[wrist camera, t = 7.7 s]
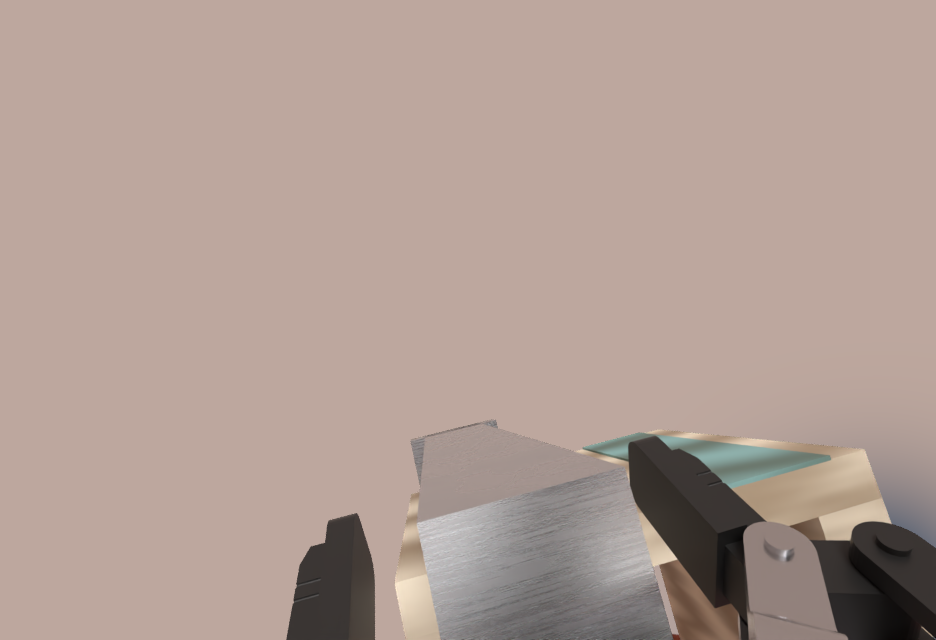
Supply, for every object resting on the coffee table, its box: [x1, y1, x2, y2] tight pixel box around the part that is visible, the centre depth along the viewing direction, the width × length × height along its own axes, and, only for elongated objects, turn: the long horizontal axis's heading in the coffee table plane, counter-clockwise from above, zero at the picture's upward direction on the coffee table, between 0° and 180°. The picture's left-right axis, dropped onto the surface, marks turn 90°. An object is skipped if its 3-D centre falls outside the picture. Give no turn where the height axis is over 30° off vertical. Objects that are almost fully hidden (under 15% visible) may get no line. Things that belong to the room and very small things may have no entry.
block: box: [411, 420, 673, 640], centre depth 21 cm, size 26×6×4 cm, turn 6°
